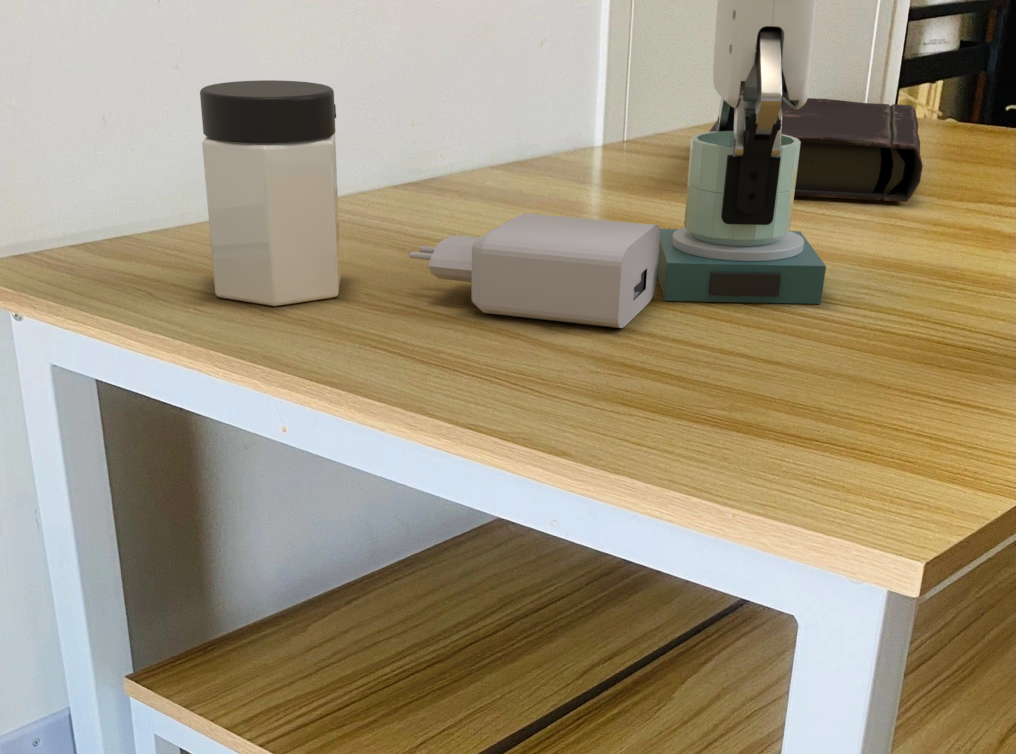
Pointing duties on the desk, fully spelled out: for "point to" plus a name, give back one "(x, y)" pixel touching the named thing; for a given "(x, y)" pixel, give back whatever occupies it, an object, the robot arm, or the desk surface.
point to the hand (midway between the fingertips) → (739, 208)
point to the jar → (272, 190)
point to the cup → (709, 191)
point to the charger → (555, 268)
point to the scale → (739, 270)
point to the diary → (854, 149)
